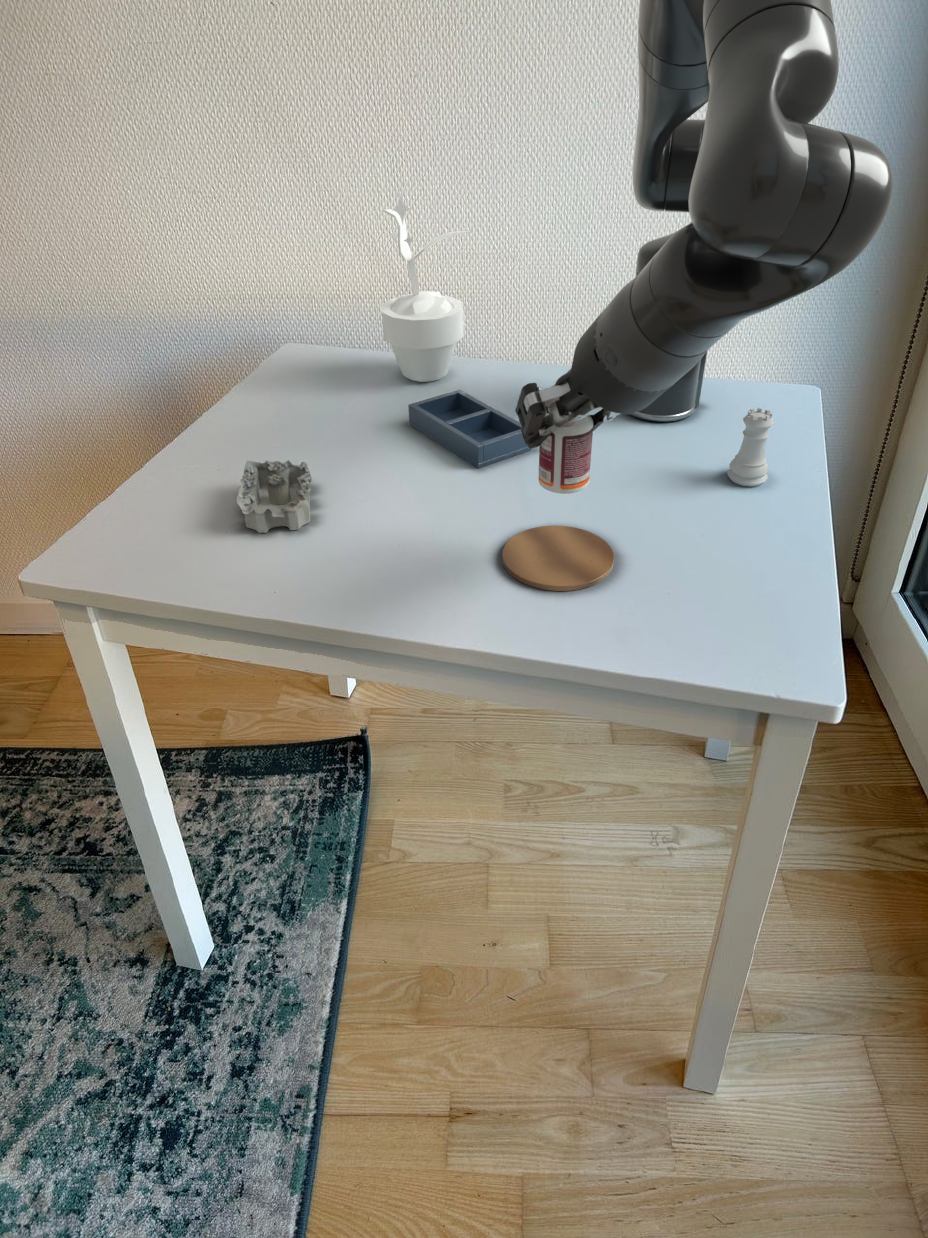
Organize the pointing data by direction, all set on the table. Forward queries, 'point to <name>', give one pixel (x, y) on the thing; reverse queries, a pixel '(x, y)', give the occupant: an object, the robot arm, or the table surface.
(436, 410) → the holder
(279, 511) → the egg carton
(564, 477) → the pill bottle
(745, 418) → the rook chess piece
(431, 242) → the potted plant
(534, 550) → the disc
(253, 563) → the table surface
